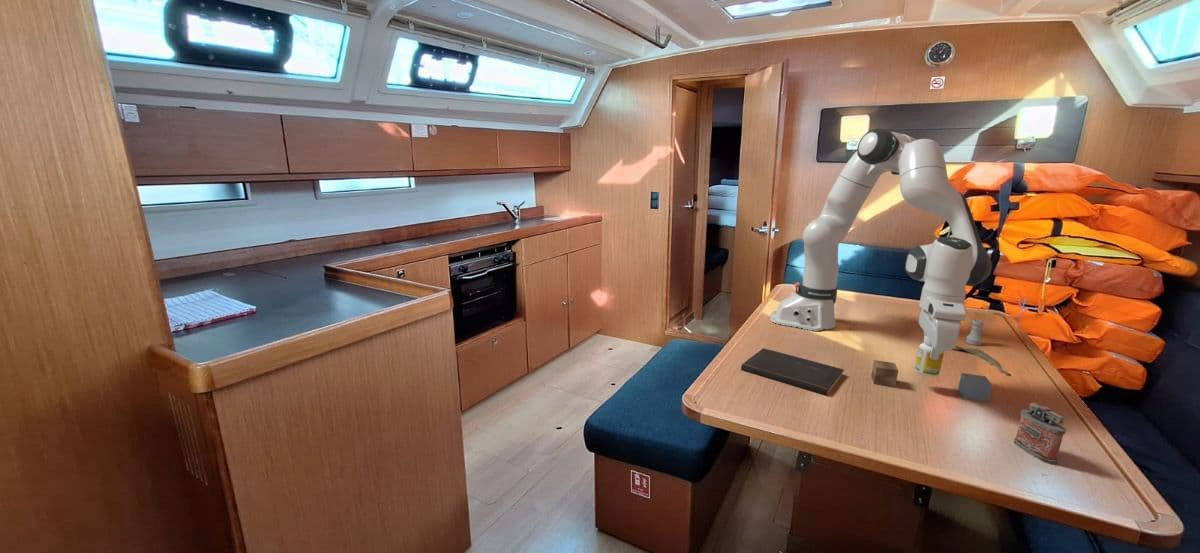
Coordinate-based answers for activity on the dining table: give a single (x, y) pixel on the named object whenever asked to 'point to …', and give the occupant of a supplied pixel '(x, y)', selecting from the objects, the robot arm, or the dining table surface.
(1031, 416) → the lighter
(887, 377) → the walnut block
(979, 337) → the rook chess piece
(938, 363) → the supplement bottle
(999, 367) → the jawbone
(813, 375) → the hardcover book
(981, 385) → the slate-blue block
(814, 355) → the dining table surface
